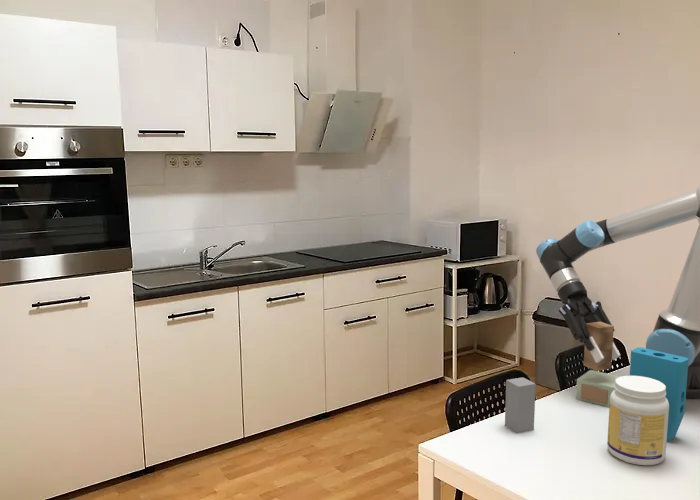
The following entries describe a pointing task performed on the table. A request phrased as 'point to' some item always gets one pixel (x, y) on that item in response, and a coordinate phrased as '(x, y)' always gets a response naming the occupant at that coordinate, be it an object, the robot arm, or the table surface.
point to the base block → (595, 387)
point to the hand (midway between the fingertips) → (608, 358)
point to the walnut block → (600, 345)
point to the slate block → (520, 405)
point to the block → (664, 380)
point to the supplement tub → (638, 420)
